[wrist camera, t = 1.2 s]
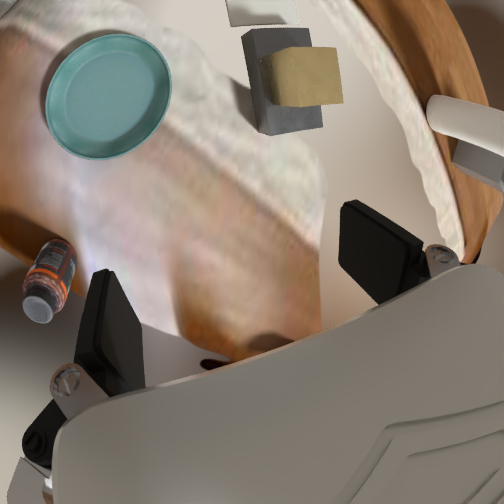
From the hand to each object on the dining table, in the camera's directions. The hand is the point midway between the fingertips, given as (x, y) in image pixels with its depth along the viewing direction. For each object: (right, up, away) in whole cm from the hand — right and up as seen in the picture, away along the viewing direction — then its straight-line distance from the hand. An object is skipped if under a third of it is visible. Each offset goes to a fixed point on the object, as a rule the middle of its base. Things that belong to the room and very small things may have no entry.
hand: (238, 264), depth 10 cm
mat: (+2, +32, +12) cm, 34 cm away
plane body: (+4, +22, +19) cm, 29 cm away
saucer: (-16, +18, +14) cm, 28 cm away
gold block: (+5, +20, +15) cm, 26 cm away
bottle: (+36, +28, +28) cm, 54 cm away
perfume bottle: (+49, +23, +36) cm, 65 cm away
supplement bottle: (-26, 0, +21) cm, 33 cm away
